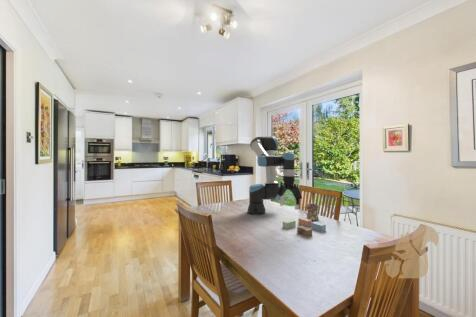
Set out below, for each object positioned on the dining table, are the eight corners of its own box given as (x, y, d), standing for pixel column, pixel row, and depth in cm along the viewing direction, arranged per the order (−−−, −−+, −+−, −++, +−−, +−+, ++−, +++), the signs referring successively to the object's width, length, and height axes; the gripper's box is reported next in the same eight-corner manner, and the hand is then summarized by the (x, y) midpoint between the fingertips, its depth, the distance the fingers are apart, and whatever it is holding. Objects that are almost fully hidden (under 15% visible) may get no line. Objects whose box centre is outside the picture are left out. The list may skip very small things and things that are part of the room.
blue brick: (311, 228, 143) (311, 222, 142) (315, 227, 145) (315, 221, 145) (321, 232, 136) (321, 225, 136) (325, 230, 138) (325, 224, 138)
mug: (317, 217, 166) (317, 203, 166) (320, 221, 157) (320, 206, 156) (301, 217, 167) (301, 203, 166) (303, 221, 157) (303, 206, 157)
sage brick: (286, 229, 142) (286, 223, 142) (282, 227, 146) (282, 221, 145) (295, 226, 146) (295, 220, 146) (291, 225, 150) (291, 219, 150)
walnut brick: (297, 233, 135) (297, 226, 134) (301, 232, 137) (301, 225, 137) (307, 237, 128) (307, 230, 128) (312, 236, 130) (312, 229, 130)
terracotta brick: (298, 223, 152) (298, 218, 152) (302, 222, 154) (302, 217, 154) (307, 227, 145) (307, 221, 145) (311, 226, 147) (311, 220, 147)
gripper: (272, 174, 154) (272, 204, 154) (299, 177, 133) (299, 212, 133) (280, 174, 158) (280, 203, 158) (307, 176, 136) (307, 210, 137)
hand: (289, 207), depth 145 cm, fingers open, 13 cm apart
